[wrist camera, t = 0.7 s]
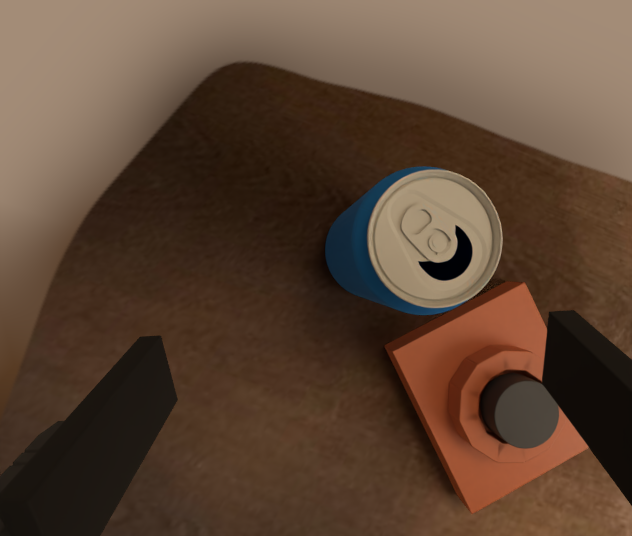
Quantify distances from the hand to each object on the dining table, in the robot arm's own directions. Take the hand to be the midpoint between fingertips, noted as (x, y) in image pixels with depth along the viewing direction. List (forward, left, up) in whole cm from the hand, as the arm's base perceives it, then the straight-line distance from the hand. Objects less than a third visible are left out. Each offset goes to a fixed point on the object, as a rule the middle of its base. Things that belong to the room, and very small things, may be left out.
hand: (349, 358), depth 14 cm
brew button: (+9, +9, -11) cm, 17 cm away
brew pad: (+9, +9, -14) cm, 19 cm away
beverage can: (-3, +5, -14) cm, 15 cm away
